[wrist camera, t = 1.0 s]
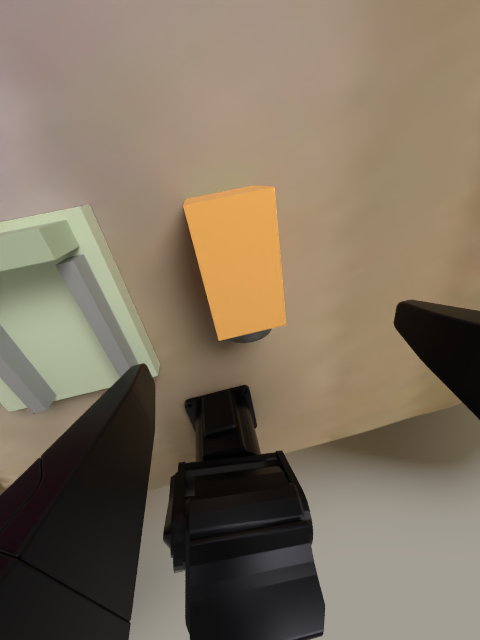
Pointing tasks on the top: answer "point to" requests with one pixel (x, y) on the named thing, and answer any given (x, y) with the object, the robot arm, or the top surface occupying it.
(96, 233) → the pale green tray
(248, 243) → the orange tapered block
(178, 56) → the top surface
